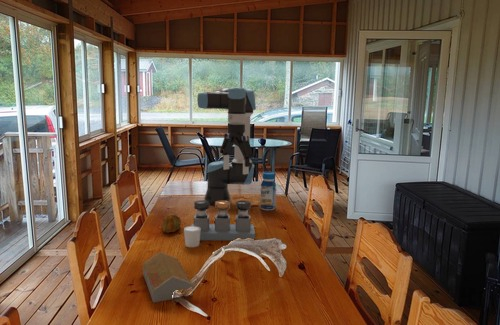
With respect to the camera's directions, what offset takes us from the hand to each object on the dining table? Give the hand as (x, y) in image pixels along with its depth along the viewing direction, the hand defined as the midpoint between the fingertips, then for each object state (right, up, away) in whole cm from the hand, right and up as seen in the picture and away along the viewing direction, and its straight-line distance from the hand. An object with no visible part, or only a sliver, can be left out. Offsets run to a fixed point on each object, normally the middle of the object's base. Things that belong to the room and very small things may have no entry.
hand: (235, 171), depth 173 cm
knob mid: (-6, -21, -3) cm, 22 cm away
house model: (-21, -36, -47) cm, 63 cm away
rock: (-29, -27, +4) cm, 40 cm away
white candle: (-17, -30, -14) cm, 37 cm away
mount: (-6, -28, -2) cm, 29 cm away
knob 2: (+3, -21, -3) cm, 21 cm away
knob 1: (-15, -20, -4) cm, 25 cm away
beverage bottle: (+16, -21, +40) cm, 49 cm away
